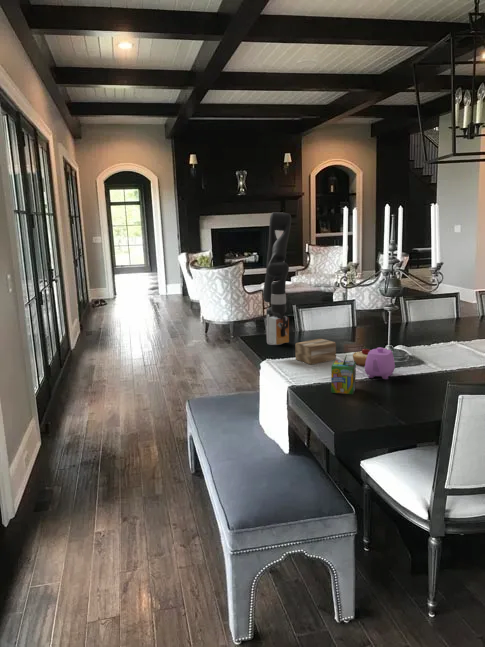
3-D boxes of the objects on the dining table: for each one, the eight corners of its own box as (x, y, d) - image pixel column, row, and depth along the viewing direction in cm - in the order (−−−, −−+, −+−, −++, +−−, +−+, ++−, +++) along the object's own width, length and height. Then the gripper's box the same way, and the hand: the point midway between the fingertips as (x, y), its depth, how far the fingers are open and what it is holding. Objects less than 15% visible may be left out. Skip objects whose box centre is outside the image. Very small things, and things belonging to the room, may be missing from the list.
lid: (295, 344, 264) (295, 342, 263) (320, 339, 271) (320, 338, 271) (309, 348, 254) (309, 347, 254) (335, 343, 261) (335, 342, 261)
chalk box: (333, 386, 221) (333, 352, 218) (356, 387, 218) (356, 353, 216) (330, 393, 213) (330, 357, 210) (353, 394, 210) (353, 358, 207)
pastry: (360, 369, 247) (360, 351, 245) (348, 362, 258) (348, 345, 256) (383, 365, 250) (383, 347, 248) (371, 359, 261) (370, 341, 259)
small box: (276, 344, 262) (276, 319, 259) (269, 342, 267) (268, 317, 264) (289, 342, 266) (289, 317, 263) (281, 339, 271) (281, 315, 269)
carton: (295, 359, 265) (295, 344, 264) (320, 354, 273) (320, 339, 272) (310, 365, 255) (310, 348, 253) (336, 359, 263) (336, 343, 261)
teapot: (370, 368, 245) (371, 342, 242) (398, 371, 239) (398, 343, 237) (359, 380, 227) (359, 352, 225) (389, 383, 222) (389, 354, 219)
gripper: (293, 303, 258) (293, 336, 262) (276, 299, 270) (277, 331, 274) (280, 305, 254) (280, 339, 258) (264, 301, 267) (265, 333, 270)
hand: (279, 335), depth 266 cm, fingers closed on small box, 6 cm apart
